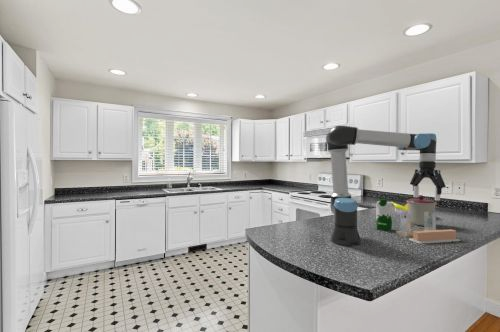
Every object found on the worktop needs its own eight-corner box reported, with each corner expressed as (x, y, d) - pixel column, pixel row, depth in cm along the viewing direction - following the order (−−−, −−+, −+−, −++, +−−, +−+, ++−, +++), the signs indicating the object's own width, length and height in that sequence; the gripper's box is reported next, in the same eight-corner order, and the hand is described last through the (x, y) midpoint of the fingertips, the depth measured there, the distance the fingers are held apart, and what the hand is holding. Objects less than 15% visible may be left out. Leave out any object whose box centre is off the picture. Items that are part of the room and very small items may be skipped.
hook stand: (406, 236, 149) (406, 214, 149) (395, 233, 157) (395, 212, 157) (439, 235, 154) (440, 213, 154) (428, 231, 161) (428, 211, 161)
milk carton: (374, 229, 166) (375, 199, 166) (379, 227, 173) (379, 197, 173) (389, 232, 160) (389, 200, 160) (393, 229, 167) (393, 199, 167)
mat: (419, 243, 136) (419, 242, 136) (408, 239, 143) (408, 238, 143) (460, 241, 141) (460, 239, 141) (448, 237, 148) (448, 236, 148)
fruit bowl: (437, 217, 209) (437, 203, 209) (422, 221, 194) (422, 206, 194) (401, 212, 232) (401, 199, 232) (385, 215, 217) (386, 201, 217)
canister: (409, 226, 176) (409, 196, 176) (403, 220, 193) (403, 193, 193) (440, 228, 170) (440, 197, 170) (431, 222, 187) (431, 194, 187)
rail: (417, 241, 138) (417, 232, 138) (412, 239, 141) (412, 231, 141) (456, 238, 143) (456, 230, 143) (450, 237, 146) (450, 229, 146)
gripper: (454, 161, 131) (453, 201, 131) (414, 161, 155) (413, 195, 155) (443, 160, 129) (441, 201, 130) (404, 161, 154) (402, 195, 154)
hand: (426, 198), depth 142 cm, fingers open, 13 cm apart
